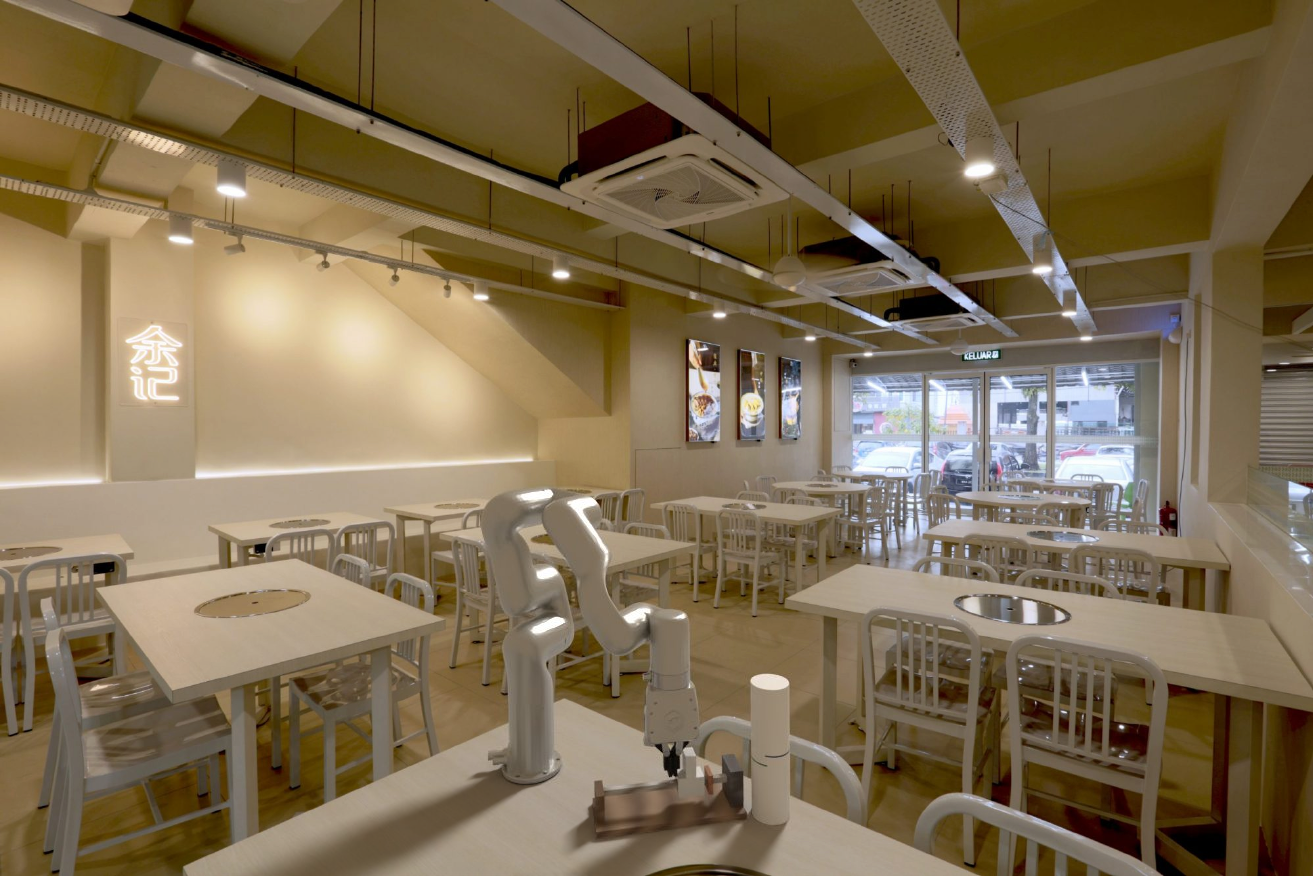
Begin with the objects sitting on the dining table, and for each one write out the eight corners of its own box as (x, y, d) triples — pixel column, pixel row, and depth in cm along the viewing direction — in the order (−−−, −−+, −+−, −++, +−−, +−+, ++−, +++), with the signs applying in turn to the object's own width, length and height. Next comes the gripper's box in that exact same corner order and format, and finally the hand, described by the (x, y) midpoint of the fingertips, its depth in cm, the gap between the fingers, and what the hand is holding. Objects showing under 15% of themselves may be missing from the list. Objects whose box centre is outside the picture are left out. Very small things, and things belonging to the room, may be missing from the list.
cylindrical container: (790, 827, 110) (789, 691, 109) (750, 822, 111) (749, 688, 111) (789, 803, 117) (788, 675, 116) (752, 799, 118) (751, 672, 118)
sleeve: (678, 798, 113) (678, 758, 113) (674, 787, 117) (674, 748, 116) (704, 795, 114) (704, 755, 114) (699, 784, 117) (699, 745, 117)
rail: (596, 838, 107) (595, 794, 107) (592, 804, 117) (591, 763, 117) (747, 819, 112) (746, 776, 112) (731, 787, 122) (731, 748, 122)
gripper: (633, 689, 109) (635, 789, 110) (713, 682, 112) (715, 780, 112) (628, 672, 117) (630, 766, 117) (703, 666, 119) (705, 758, 119)
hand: (671, 772), depth 115 cm, fingers closed
